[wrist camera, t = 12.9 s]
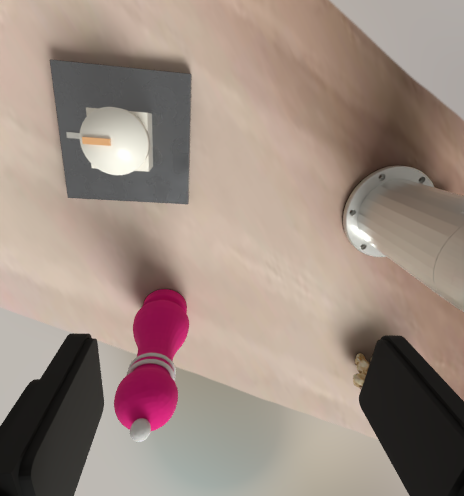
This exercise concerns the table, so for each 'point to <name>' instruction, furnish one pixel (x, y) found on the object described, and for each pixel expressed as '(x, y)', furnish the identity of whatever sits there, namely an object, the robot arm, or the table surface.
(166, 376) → the pepper mill
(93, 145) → the knob
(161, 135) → the grey thin square slab
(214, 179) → the table surface
